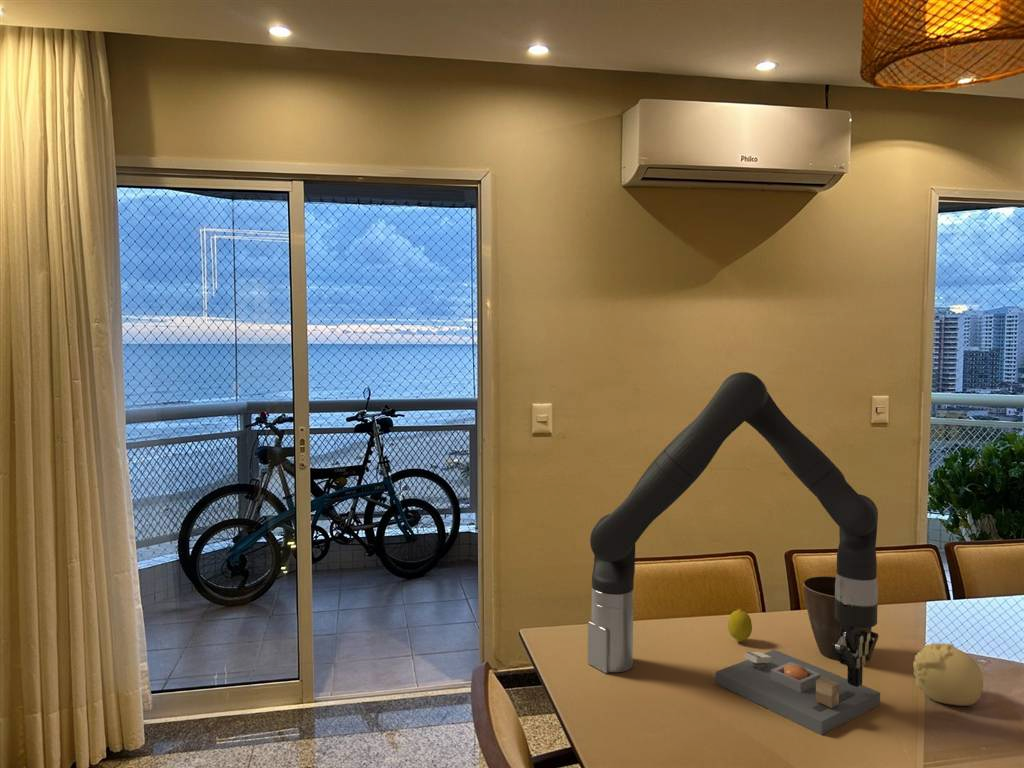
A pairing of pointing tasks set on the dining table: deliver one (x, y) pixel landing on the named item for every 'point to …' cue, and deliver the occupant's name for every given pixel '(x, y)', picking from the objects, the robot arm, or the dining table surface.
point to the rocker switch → (757, 657)
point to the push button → (795, 671)
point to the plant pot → (822, 612)
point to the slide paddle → (827, 692)
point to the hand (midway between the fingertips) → (854, 684)
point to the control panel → (796, 692)
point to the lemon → (739, 625)
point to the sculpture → (948, 675)
